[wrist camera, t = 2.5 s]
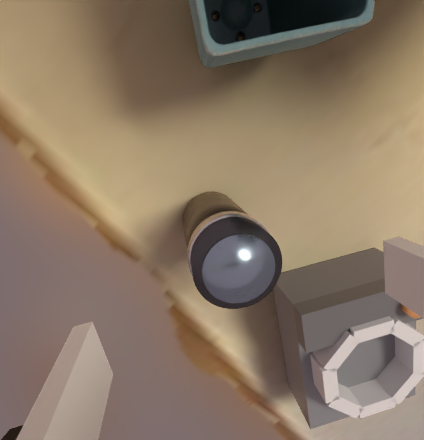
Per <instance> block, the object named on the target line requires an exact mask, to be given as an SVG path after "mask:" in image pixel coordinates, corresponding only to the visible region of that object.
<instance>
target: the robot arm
mask: <svg viewBox="0 0 424 440" xmlns="http://www.w3.org/2000/svg"><path fill="white" fill-rule="evenodd" d="M383 245H384V274H385V293H386V294H387V295H389V296H390V297H392V298H393V299H395V300H396V301H398V302H399V303H401V304H402V305H404V306H405V307H407V308H408V309H410V310H411V311H413V312H414V313H416V314H417V315H419V316H420V317H422V318H423V319H424V246H421V245H419V244H416V243H414V242H411V241H408V240H406V239H403V238H401V237H395V238H392V239H388V240H384V241H383ZM112 377H113V373H112V370H111V367H110V365H109V362H108V360H107V357H106V355H105V352H104V350H103V348H102V345H101V343H100V340H99V337H98V335H97V332H96V330H95V327H94V325H93V322H89V323H85V324H82V325H78V326H75V327H73V328H72V330H71V333H70V334H69V336H68V338H67V340H66V342H65V344H64V346H63V348H62V350H61V352H60V354H59V356H58V358H57V360H56V362H55V364H54V366H53V368H52V370H51V372H50V374H49V376H48V378H47V380H46V382H45V384H44V386H43V388H42V390H41V392H40V394H39V396H38V397H37V399H36V401H35V404H34V405H33V407H32V409H31V411H30V413H29V415H28V417H27V419H26V421H25V423H24V425H22V426H19V427H16V428H12V429H10V430H9V431H8V432H7V434H6V435H5V436H4V437H3V438H2V439H1V440H98V439H99V434H100V430H101V425H102V421H103V417H104V412H105V408H106V403H107V399H108V394H109V390H110V385H111V381H112Z"/></svg>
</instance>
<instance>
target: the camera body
mask: <svg viewBox="0 0 424 440" xmlns="http://www.w3.org/2000/svg"><path fill="white" fill-rule="evenodd" d="M273 293H274V299H275V305H276V311H277V317H278V323H279V329H280V335H281V341H282V347H283V354H284V360H285V366H286V372H287V378H288V384H289V387H290V389H291V391H292V393H293V395H294V397H295V399H296V401H297V403H298V405H299V407H300V409H301V411H302V413H303V415H304V417H305V419H306V421H307V423H308V425H309V427H310V429H312V428H315V427H318V426H321V425H324V424H327V423H330V422H333V421H337V420H340V419H343V418H346V417H349V416H352V417H354V418H357V417H358V416H359V418H363V417H366V416H369V415H372V414H375V413H378V412H381V411H384V410H387V409H390V408H393V407H396V403H398V404H400V403H401V402H402V401H403V399H404V398H407V397H410V396H413V395H415V386H416V384H417V383H418V382H419V381H420V380H421V379H422V377H423V376H424V374H422V373H423V372H424V335H423V334H421V333H420V332H419V331H417V330H416V320H419V319H422V317H420V316H419V315H417V314H416V313H414V312H413V311H411V310H410V309H408V308H407V307H405V306H404V305H402V304H401V303H399V302H398V301H396V300H395V299H393V298H392V297H390V296H389V295H387V294H386V293H385V274H384V252H382V251H380V250H378V249H376V248H371V249H368V250H364V251H360V252H357V253H353V254H349V255H346V256H342V257H338V258H335V259H331V260H327V261H324V262H320V263H316V264H313V265H309V266H305V267H302V268H298V269H294V270H290V271H287V272H283V273H281V274H280V277H279V279H278V281H277V283H276V285H275V287H274V288H273Z"/></svg>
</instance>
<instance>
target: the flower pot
mask: <svg viewBox="0 0 424 440" xmlns="http://www.w3.org/2000/svg"><path fill="white" fill-rule="evenodd" d="M188 2H189V6H190V11H191V16H192V21H193V26H194V30H195V35H196V40H197V45H198V50H199V56H200V59H201V63H202V64H203V65H204V66H205V67H207V68H212V67H217V66H222V65H226V64H231V63H235V62H240V61H244V60H249V59H253V58H258V57H263V56H267V55H272V54H276V53H281V52H286V51H290V50H295V49H300V48H305V47H310V46H313V45H316V44H319V43H321V42H324V41H326V40H329V39H331V38H334V37H336V36H339V35H341V34H344V33H346V32H349V31H351V30H353V29H356V28H358V27H361V26H363V25H366V24H367V23H369V22H370V21H371V20H372V18H373V13H374V3H375V2H374V0H188ZM255 4H258V5H259V6H260V11H259V12H255V11H254V5H255ZM213 13H217V14H218V20H216V21H214V20H213V19H212V14H213ZM239 33H242V34H243V40H241V41H240V40H238V39H237V35H238V34H239Z"/></svg>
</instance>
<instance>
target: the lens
mask: <svg viewBox="0 0 424 440" xmlns="http://www.w3.org/2000/svg"><path fill="white" fill-rule="evenodd" d="M183 226H184V232H185V237H186V242H187V248H188V250H187V254H188V262H189V267H190V271H191V274H192V276H193V279H194V283H195V286H196V287H197V289H198V291H199V292H200V294H201V295H202V296H203V297H204V298H205V299H206V300H207V301H209V302H210V303H212V304H214V305H216V306H219V307H222V308H228V309H238V308H244V307H248V306H250V305H253V304H255V303H257V302H259V301H260V300H262V299H263V298H264V297H266V296H267V295H268V294H269V293H270V292H271V291H272V289H273V288H274V287H275V285H276V283H277V281H278V279H279V277H280V274H281V269H282V255H281V251H280V248H279V246H278V244H277V242H276V241H275V240H274V238H273V237H272V236H271V235H270V234H269V233H268V231H267V230H266V229H265V228H264V227H263V226H262V225H261V224H260V223H259V222H258V221H257V220H256V219H254V218H253V217H251V216H249V215H248V214H247V213H245V212H244V211H243V210H242V209H241V208H240V207H239V206H238V205H237V204H235V203H234V202H233V201H232V200H231V199H230V198H229V197H227V196H226V195H224V194H221V193H218V192H205V193H202V194H200V195H198V196H196V197H194V198H193V199H192V200H191V201H190V202H189V203H188V205H187V206H186V208H185V211H184V214H183Z"/></svg>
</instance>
